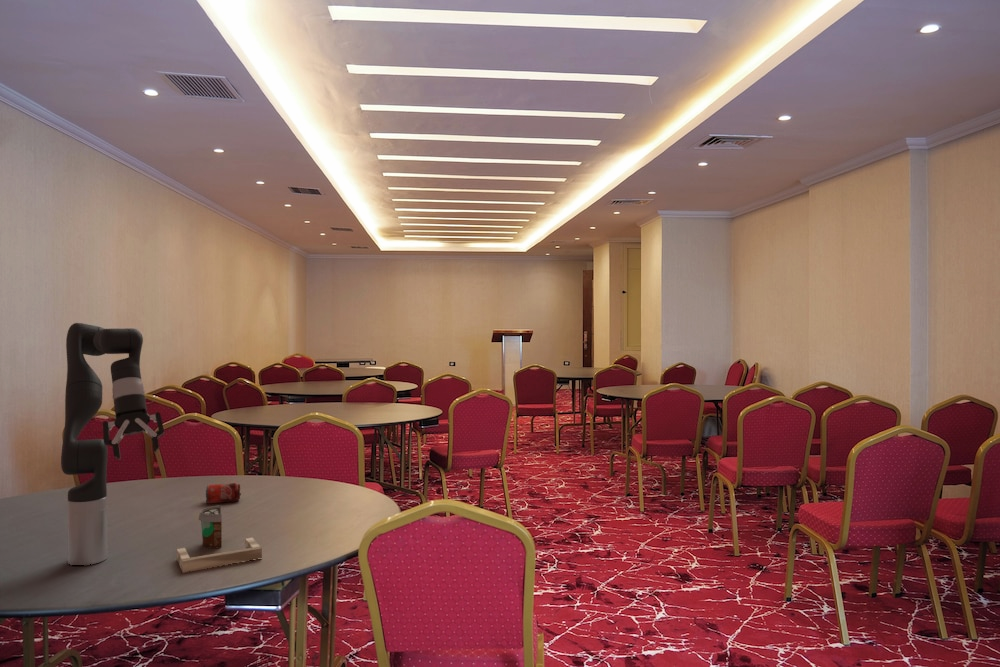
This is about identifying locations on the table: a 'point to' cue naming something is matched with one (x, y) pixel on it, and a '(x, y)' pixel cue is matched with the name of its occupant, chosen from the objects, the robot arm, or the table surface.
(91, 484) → the robot arm
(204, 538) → the food container
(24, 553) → the table surface
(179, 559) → the wooden bridge piece
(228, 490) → the beverage can
